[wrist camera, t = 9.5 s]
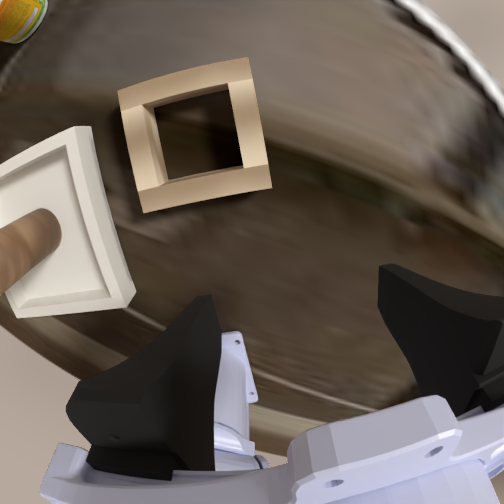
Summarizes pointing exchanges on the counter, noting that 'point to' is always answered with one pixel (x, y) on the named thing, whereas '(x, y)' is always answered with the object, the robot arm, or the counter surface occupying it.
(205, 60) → the counter surface
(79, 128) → the tray
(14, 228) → the wooden dowel
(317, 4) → the counter surface
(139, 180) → the collar
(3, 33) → the supplement bottle
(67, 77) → the counter surface
